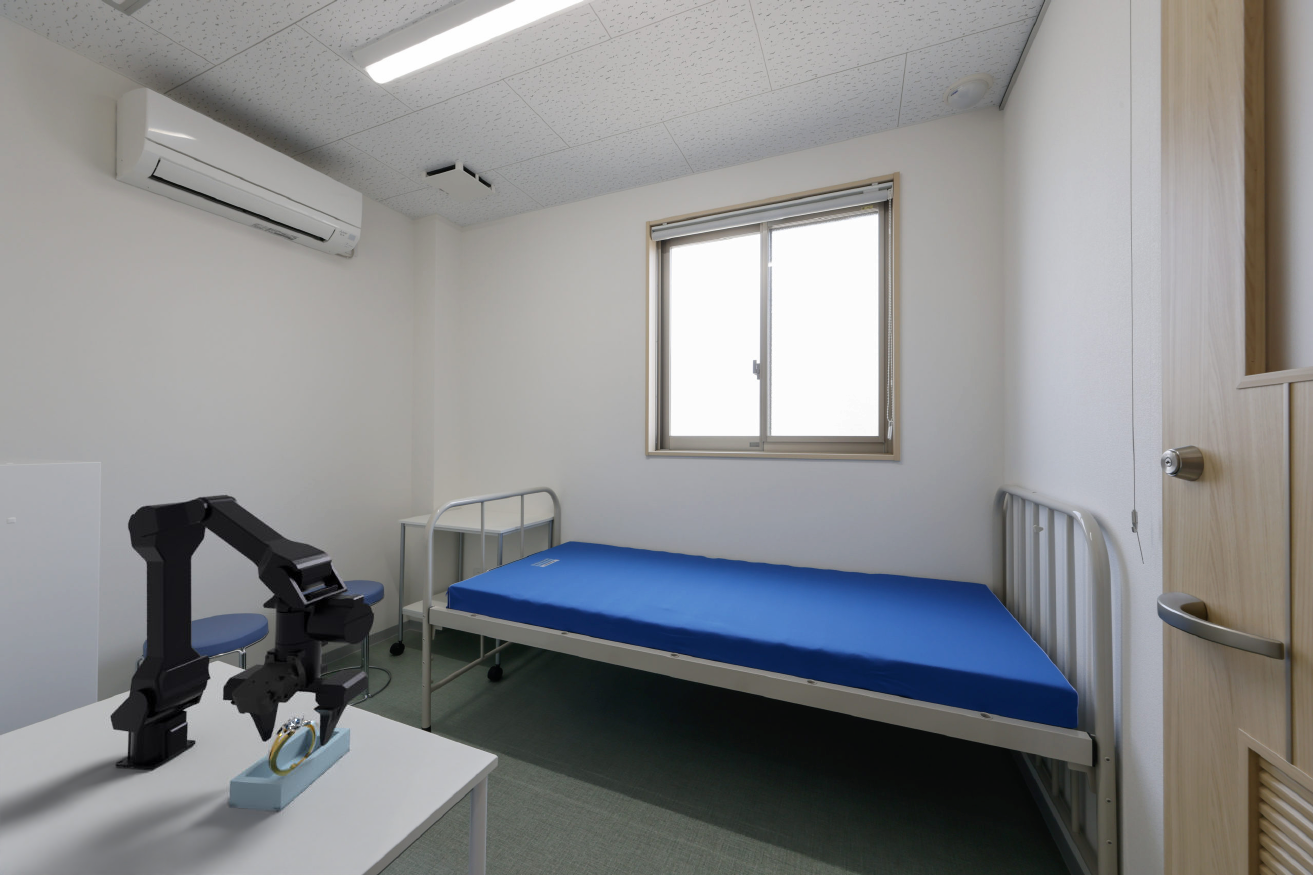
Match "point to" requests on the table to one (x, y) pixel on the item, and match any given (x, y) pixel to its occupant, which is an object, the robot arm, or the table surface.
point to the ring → (290, 726)
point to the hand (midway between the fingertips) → (295, 742)
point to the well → (277, 791)
